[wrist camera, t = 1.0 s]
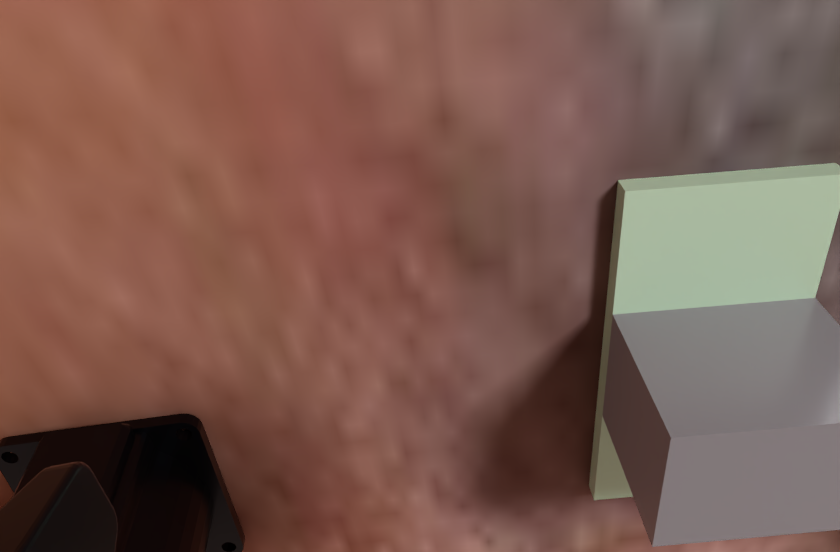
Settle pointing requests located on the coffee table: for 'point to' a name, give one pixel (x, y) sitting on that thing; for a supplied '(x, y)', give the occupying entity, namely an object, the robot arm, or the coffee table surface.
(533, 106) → the coffee table surface
